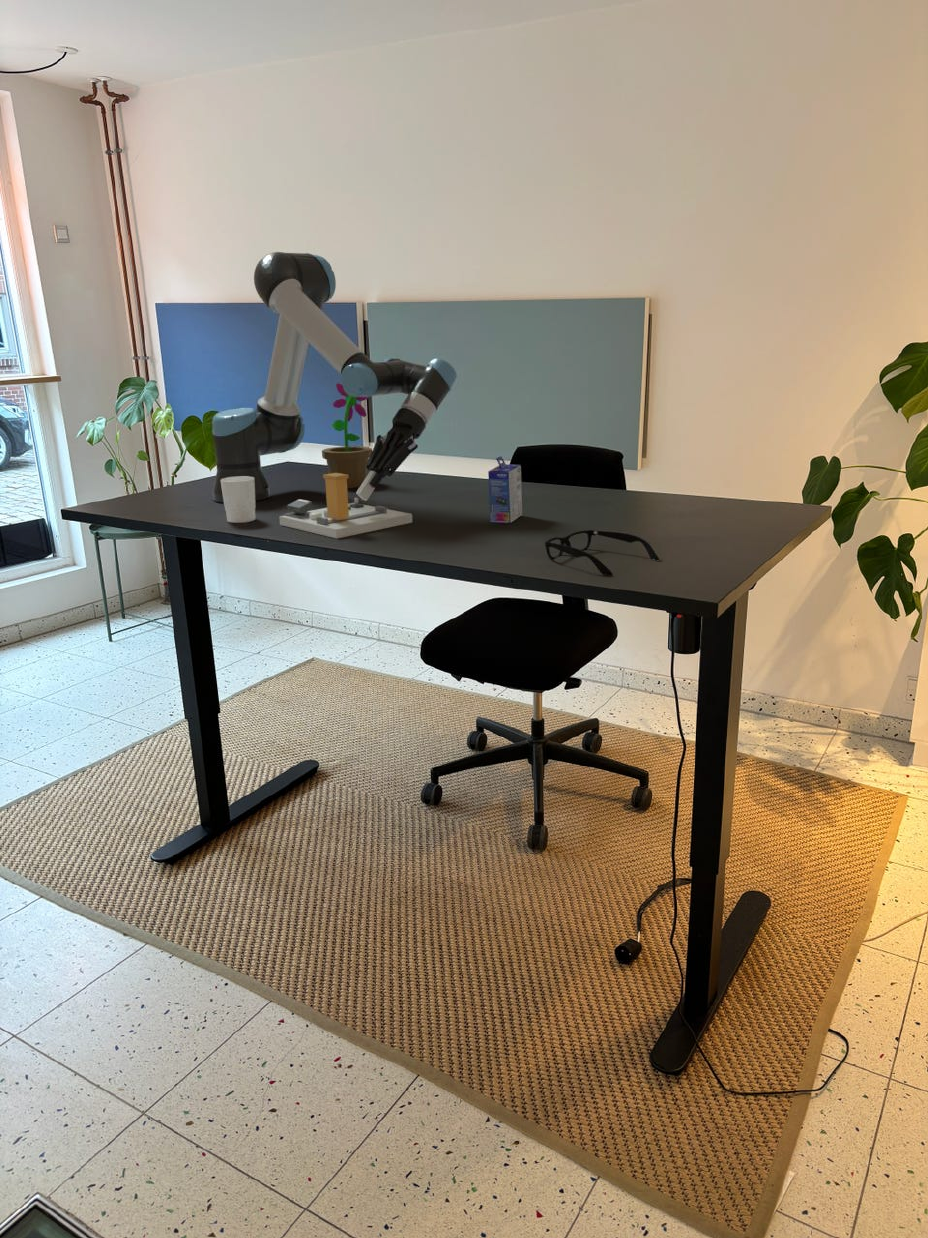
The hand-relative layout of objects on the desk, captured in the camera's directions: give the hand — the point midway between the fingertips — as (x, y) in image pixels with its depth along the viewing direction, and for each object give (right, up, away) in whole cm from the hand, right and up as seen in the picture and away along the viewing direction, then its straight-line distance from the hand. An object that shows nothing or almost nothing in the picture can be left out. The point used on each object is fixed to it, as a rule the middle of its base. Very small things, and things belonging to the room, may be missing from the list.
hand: (361, 496), depth 211 cm
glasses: (+50, -17, -34) cm, 63 cm away
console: (-4, -6, +4) cm, 8 cm away
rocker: (-15, -2, +3) cm, 15 cm away
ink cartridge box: (+33, -5, +5) cm, 34 cm away
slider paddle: (-5, -5, -3) cm, 8 cm away
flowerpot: (-10, +11, +56) cm, 57 cm away
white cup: (-30, -5, +10) cm, 32 cm away
